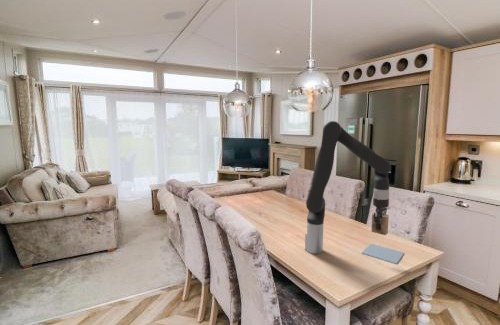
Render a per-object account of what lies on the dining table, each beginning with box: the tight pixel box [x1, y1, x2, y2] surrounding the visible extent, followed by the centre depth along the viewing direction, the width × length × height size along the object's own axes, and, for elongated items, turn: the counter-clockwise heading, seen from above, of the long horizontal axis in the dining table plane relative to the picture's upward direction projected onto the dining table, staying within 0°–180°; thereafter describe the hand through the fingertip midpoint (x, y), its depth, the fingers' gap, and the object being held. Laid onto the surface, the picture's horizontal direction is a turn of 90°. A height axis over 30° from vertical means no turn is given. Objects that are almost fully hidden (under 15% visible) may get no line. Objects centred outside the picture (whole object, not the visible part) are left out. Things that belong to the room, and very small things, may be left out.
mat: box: [361, 243, 405, 265], centre depth 150 cm, size 18×16×1 cm
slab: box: [371, 211, 389, 236], centre depth 140 cm, size 7×4×10 cm, turn 46°
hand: (379, 228), depth 140 cm, fingers closed on slab, 3 cm apart
